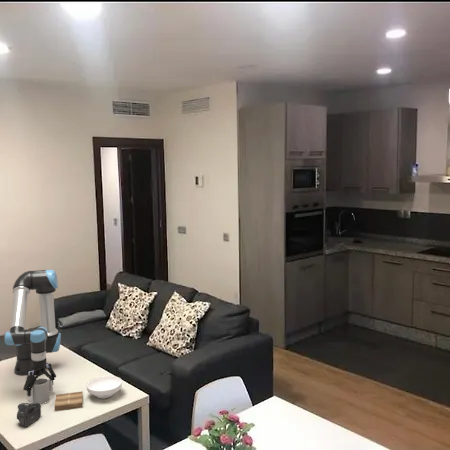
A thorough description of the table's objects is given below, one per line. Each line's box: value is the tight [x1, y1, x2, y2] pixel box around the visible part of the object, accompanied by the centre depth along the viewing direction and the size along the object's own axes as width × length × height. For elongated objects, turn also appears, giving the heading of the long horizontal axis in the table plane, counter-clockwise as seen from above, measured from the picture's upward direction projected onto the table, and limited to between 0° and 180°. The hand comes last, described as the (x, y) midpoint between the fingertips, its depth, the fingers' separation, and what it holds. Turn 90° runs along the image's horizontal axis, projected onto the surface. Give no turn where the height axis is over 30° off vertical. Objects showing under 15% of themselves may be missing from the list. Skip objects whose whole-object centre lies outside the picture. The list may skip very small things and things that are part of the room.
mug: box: [31, 378, 50, 405], centre depth 265 cm, size 12×8×11 cm
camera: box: [16, 402, 42, 427], centre depth 242 cm, size 13×10×10 cm
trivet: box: [54, 391, 84, 412], centre depth 261 cm, size 14×14×3 cm
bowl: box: [85, 375, 123, 399], centre depth 270 cm, size 20×20×7 cm
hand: (41, 396), depth 266 cm, fingers open, 13 cm apart
